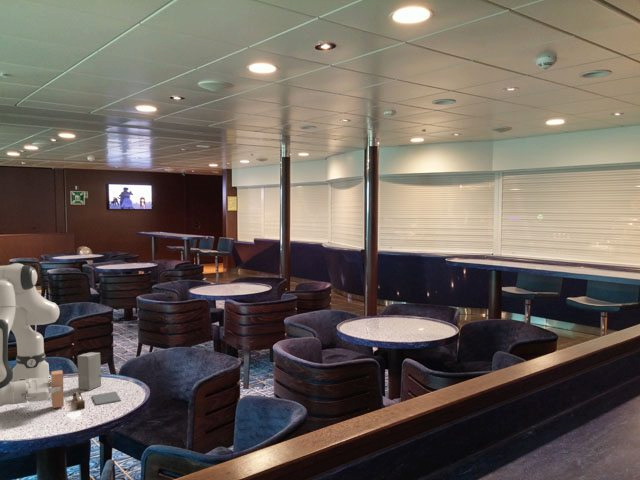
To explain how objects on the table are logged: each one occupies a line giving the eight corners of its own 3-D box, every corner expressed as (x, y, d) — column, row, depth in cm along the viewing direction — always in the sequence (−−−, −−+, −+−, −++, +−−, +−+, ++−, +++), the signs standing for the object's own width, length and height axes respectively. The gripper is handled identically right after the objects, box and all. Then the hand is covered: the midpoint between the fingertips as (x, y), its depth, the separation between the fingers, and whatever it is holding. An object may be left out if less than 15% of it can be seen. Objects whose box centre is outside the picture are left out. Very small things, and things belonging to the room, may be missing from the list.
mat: (91, 396, 229) (91, 395, 229) (115, 392, 234) (115, 391, 234) (95, 405, 219) (95, 404, 219) (120, 401, 224) (120, 399, 224)
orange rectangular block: (51, 404, 218) (51, 371, 217) (62, 402, 220) (61, 370, 219) (52, 408, 214) (52, 374, 213) (63, 406, 216) (63, 373, 215)
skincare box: (89, 391, 236) (88, 357, 236) (76, 389, 239) (76, 355, 238) (102, 385, 244) (101, 352, 244) (90, 383, 247) (89, 350, 246)
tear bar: (72, 399, 226) (72, 391, 226) (80, 397, 228) (80, 390, 227) (76, 409, 214) (76, 401, 214) (84, 408, 216) (84, 400, 216)
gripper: (22, 391, 201) (62, 385, 208) (20, 377, 218) (57, 372, 225) (22, 407, 201) (62, 401, 208) (21, 391, 218) (57, 386, 226)
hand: (59, 386), depth 217 cm, fingers closed on orange rectangular block, 5 cm apart
